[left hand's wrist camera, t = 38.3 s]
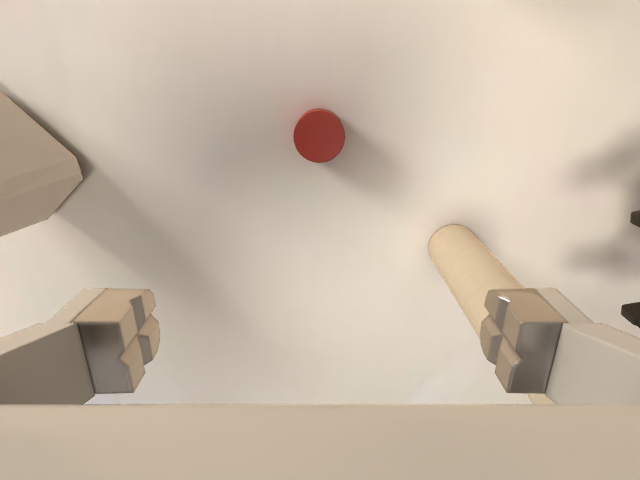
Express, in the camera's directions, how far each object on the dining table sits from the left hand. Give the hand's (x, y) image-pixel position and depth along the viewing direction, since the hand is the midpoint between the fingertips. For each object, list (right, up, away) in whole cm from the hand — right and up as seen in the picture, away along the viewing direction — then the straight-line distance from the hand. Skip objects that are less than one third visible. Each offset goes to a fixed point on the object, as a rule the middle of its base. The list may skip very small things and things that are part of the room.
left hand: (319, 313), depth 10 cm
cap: (0, +11, +28) cm, 30 cm away
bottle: (+14, +1, +34) cm, 37 cm away
